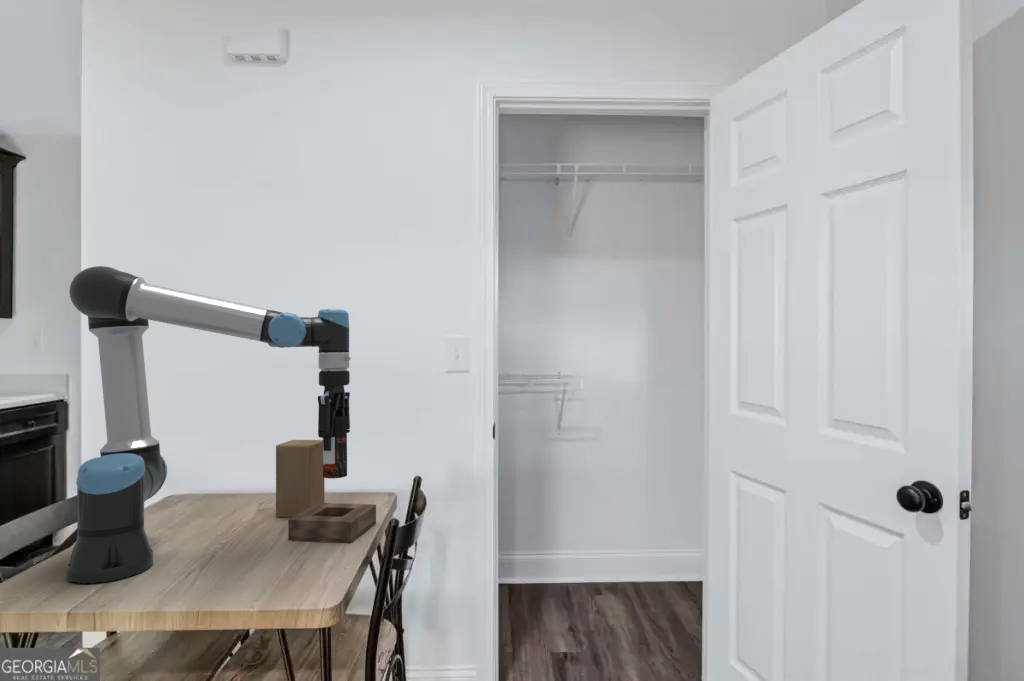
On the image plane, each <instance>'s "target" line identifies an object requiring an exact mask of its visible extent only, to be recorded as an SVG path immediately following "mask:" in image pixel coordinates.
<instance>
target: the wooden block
mask: <svg viewBox="0 0 1024 681" xmlns="http://www.w3.org/2000/svg"><path fill="white" fill-rule="evenodd" d="M318 503H325V478H323V439H291V440H289V441H286V442H282V443H280V444H276V446H275V517H276V518H285V517H288V519H291V518H292V517H294V516H296V515H298V514H300V513H301V512H303V511H305V510H307V509H309V508H311V507H312V506H314V505H316V504H318Z"/></svg>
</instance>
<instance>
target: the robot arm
mask: <svg viewBox="0 0 1024 681" xmlns="http://www.w3.org/2000/svg"><path fill="white" fill-rule="evenodd" d="M69 299H70V301H71V303H72V304H73V306H74V307H75V308H76V309H77V311H79V312H80V313H81V314H83V315H85V316H86V317H87V324H88V331H89V333H91V334H93V335H94V336H95V337H97V343H98V354H99V363H100V375H101V387H102V398H103V407H104V418H105V430H106V440H107V441H106V443H105V444H104V445H103V446H102V448H100V449H99V452H100V456H99V457H94V458H90V459H88V460H87V461H84V462H83V463H81V465H80V466H79V467H78V470H77V477H76V483H75V484H76V486H77V488H76V490H77V492H76V494H77V495H76V499H77V500H76V501H77V503H76V504H77V505H76V506H77V507H76V508H77V509H76V510H77V511H76V512H77V516H76V518H77V519H76V520H77V521H76V527H77V532H76V536H77V537H76V540H75V543H74V546H73V549H72V552H71V556H70V559H69V561H68V563H67V565H66V568H65V569H66V572H65V573H66V575H65V576H66V578H65V579H66V581H68V580H69V581H71V582H70V583H72V582H78V583H77V584H80V583H90V584H97V583H96V582H101V583H106V581H108V582H112V581H113V580H114V581H118V580H122V579H126V578H129V576H130V577H133V576H136V575H138V574H141V573H143V572H145V571H147V570H148V569H150V568H151V567H152V566H153V565H154V551H153V548H151V544H150V542H149V539H148V536H147V533H146V531H145V502H146V501H148V500H149V499H152V497H154V496H155V495H156V494H158V492H159V491H160V490H161V489H162V488H163V485H164V484H165V481H166V480H167V475H168V466H167V463H166V460H165V459H164V457H163V456H162V455H161V446H160V442H159V440H158V439H156V438H154V436H152V431H151V430H152V429H151V421H150V420H151V418H150V409H149V398H148V396H149V395H148V388H147V387H148V385H147V374H146V367H145V366H146V363H145V353H144V343H143V342H144V341H143V335H144V334H145V333H146V331H147V330H148V329H149V326H150V325H149V321H153V322H159V323H163V324H168V325H169V324H170V325H172V326H180V327H184V328H190V329H194V330H195V329H196V330H199V331H200V330H201V331H205V332H209V333H216V334H220V335H225V336H230V337H236V338H240V339H246V340H250V341H257V342H261V343H266V344H268V346H269V347H271V348H279V349H280V348H281V349H282V348H284V349H285V348H306V347H307V348H309V347H310V348H315V347H316V348H318V369H319V370H320V371H319V372H318V385H319V386H321V387H324V389H323V395H318V396H317V404H318V421H317V423H318V424H317V425H318V427H317V432H318V434H317V436H318V438H320V439H321V438H322V440H323V464H335V437H333V430H334V418H335V416H347V434H348V433H349V434H350V431H351V430H350V428H351V425H350V424H351V422H350V420H351V419H350V397H351V396H350V394H351V393H350V391H345V386H348V385H350V374H351V373H350V371H349V370H348V369H349V368H350V361H351V360H352V358H351V356H350V319H349V318H350V317H349V316H350V315H349V312H348V311H347V310H345V309H342V308H341V309H340V308H339V309H338V308H328V309H327V308H324V309H319V310H318V314H317V316H313V317H310V316H309V317H308V316H303V317H302V316H299V315H297V314H295V313H291V312H282V311H276V310H273V309H271V310H270V309H268V308H263V307H260V306H259V307H258V306H254V305H249V304H248V305H247V304H245V303H240V302H235V301H231V300H225V299H222V298H221V299H220V298H216V297H211V296H206V295H203V294H197V293H192V292H188V291H184V290H179V289H173V288H169V287H165V286H160V285H156V284H150V283H147V281H145V279H144V278H143V277H139V276H136V275H133V274H131V273H129V272H125V271H120V270H119V269H117V268H113V267H110V266H104V265H102V266H100V265H98V266H97V265H96V266H92V267H87V268H86V269H83V270H82V271H80V272H78V273H77V274H76V275H75V276H74V277H73V279H72V280H71V283H70V286H69ZM140 572H141V573H140ZM135 574H136V575H135ZM132 575H133V576H132ZM125 577H126V578H125ZM117 579H118V580H117ZM69 581H68V582H69Z"/></svg>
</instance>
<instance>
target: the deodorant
mask: <svg viewBox="0 0 1024 681" xmlns="http://www.w3.org/2000/svg"><path fill="white" fill-rule="evenodd" d="M347 430H348V429H347V416H335V418H334V430H333V437H335V464H323V478H324V479H331V480H332V479H334V480H335V479H341V478H345V477H348V433H347Z"/></svg>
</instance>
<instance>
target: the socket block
mask: <svg viewBox="0 0 1024 681" xmlns="http://www.w3.org/2000/svg"><path fill="white" fill-rule="evenodd" d="M287 521H288V524H287V526H288V527H287V528H288V529H287V530H288V533H287V534H288V535H287V536H288V539H287V540H288V541H289V540H292V542H293V541H296V542H312V541H325V542H324V543H335V542H340V543H339V544H352V543H353V542H354V541H356V540H357V539H359V537H361V536H362V535H363V534H364V533H366V532H367V531H369V530H370V529H371V528H372V527H373V526H375V525H376V524H377V504H368V503H366V504H365V503H364V504H363V503H341V502H338V503H336V502H324V503H318V504H316V505H314V506H312V507H311V508H309V509H307V510H305V511H303V512H301V513H300V514H298V515H296V516H294V517H292V518H288V520H287Z"/></svg>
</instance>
